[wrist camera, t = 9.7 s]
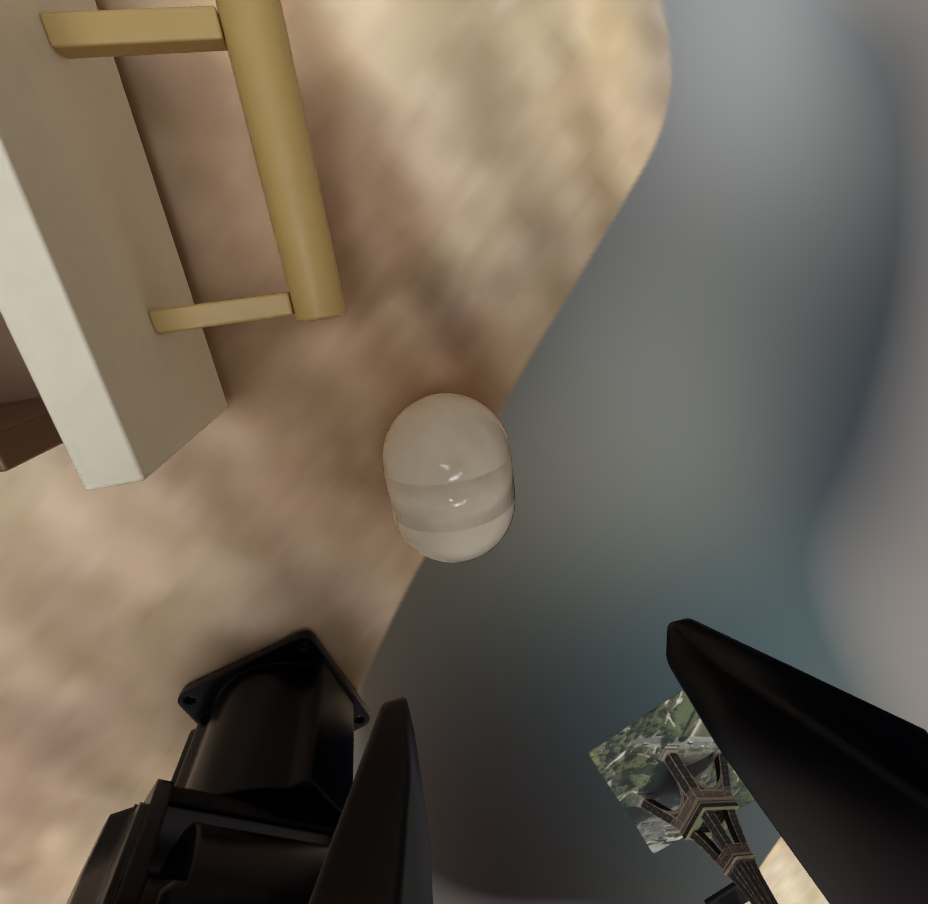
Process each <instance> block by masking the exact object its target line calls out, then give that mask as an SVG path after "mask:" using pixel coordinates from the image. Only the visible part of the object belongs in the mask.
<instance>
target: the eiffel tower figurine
mask: <svg viewBox="0 0 928 904" xmlns="http://www.w3.org/2000/svg"><path fill="white" fill-rule="evenodd" d="M588 754H589V755H590V757H591V759H592V760H593V762H594V763H595V765H596V767H597V768H598V770H599V771H600V773H601V775H602V776H603V778H604V779H605V781H606V782H607V784H608V785H609V787H610V788H611V790H612V791H613V793H614V794H615V795H616V797H617V798H618V800H619V801H620V803H621V804H622V806H623V807H622V808H624V809H625V810H626V812H627V813H628V815H629V816H630V817H631V819H632V821H633V822H634V824H635V825H636V827H637V828H638V830H639V832H640V833H641V835H642V837H643V838H644V840H645V841H646V843H647V845H648V846H649V848H650V849H651V851H652V853H656V852H657V851H659V850H661V849H663V848H665V847H666V846H668V845H670V844H672V843H674V842H675V841H677V840H679V839H681V838H683V837H684V839H685V840H693V841H694V842H696V843H697V844H698V845H699V846H700V847H701V848H702V849H703V850H704V851H705V852H706V853H707V854H708V855H709V856H710V857H711V858H712V859H713V860H714V861H716V863H717V864H718V865H719V866H720V867H722V869H723V870H724V874H725V876H726V877H727V876H728V877H730V878H731V879H732V880H733V881H734V883H735V884H736V885H737V886H738V887H739V888H740V890H741V891H742V892H743V893H744V895H745V896H746V897H747V899H748V900H749V901H750V903H751V904H778V903H777V901H776V899H775V898H774V896H773V894H772V892H771V891H770V889H769V887H768V885H767V883H766V882H765V880H764V878H763V876H762V874H761V872H760V870H759V868H758V866H757V864H756V862H755V859H756V856H755V855H753V854H752V853H751V852H750V849H749V847H748V844H747V842H746V839H745V836H744V834H743V831H742V829H741V826H740V824H739V821H738V817H737V814H736V811H737V810H738V809H740V808H742V807H744V806H745V805H747V804H749V803H751V802H753V801H755V799H754V798H753V796H752V795H751V793H750V792H749V791H748V789H747V788H746V786H745V785H744V784H743V782H742V781H741V779H740V778H739V777H738V775H737V774H736V772H735V771H734V770H733V768H732V767H731V766H730V764H729V763H728V761H727V760H726V758H725V757H724V756H723V754H722V753H721V751H720V750H719V748H718V747H717V745H716V744H715V742H714V740H713V739H712V737H711V736H710V734H709V732H708V731H707V729H706V727H705V726H704V724H703V722H702V721H701V719H700V717H699V716H698V714H697V712H696V710H695V709H694V707H693V705H692V704H691V702H690V700H689V699H688V697H687V695H686V694H685V692H684V690H682V691H680V692H679V693H677V694H676V695H674V696H673V697H672V698H670V699H668V700H667V701H665V702H664V703H662V704H661V705H659V706H658V707H656V708H655V709H653V710H652V711H650V712H649V713H647V714H646V715H644V716H643V717H641V718H640V719H638V720H637V721H635V722H634V723H632V724H631V725H629V726H628V727H627V728H625V729H624V730H622V731H621V732H619V733H618V734H616V735H615V736H613V737H612V738H610V739H609V740H607V741H606V742H604V743H603V744H602V745H600V746H598V747H596V748H595V749H593V750H592V751H590V752H589V753H588ZM727 827H728V830H729V832H730V834H731V836H732V838H733V840H734V842H735V843H732V841H731V840H730V838H729V837H728V835H727V833H726V831H725V830H726V828H727ZM711 838H714V840H715V841H716V843H717V844H718V845H719V847H720V848H721V849H722V852H721V851H720V849H719V848H718V847H717V846H716V845H715V844H714V843H713V842H712V841H711V840H710V839H711Z"/></svg>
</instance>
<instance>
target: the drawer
mask: <svg viewBox="0 0 928 904" xmlns="http://www.w3.org/2000/svg"><path fill="white" fill-rule="evenodd" d="M216 6H217V10H218V12H217V10H216V8H215V7H214V6H195V7H170V8H145V9H119V10H98V8H97V5H96V2H95V0H0V472H4V471H8V470H10V469H12V468H14V467H16V466H18V465H20V464H22V463H24V462H26V461H28V460H30V459H32V458H34V457H36V456H38V455H40V454H42V453H44V452H46V451H48V450H50V449H52V448H54V447H56V446H58V445H60V444H62V443H64V446H65V448H66V450H67V452H68V454H69V456H70V458H71V460H72V462H73V464H74V466H75V469H76V471H77V473H78V475H79V477H80V479H81V481H82V483H83V485H84V487H85V489H86V490H95V489H100V488H106V487H111V486H116V485H122V484H127V483H132V482H138V481H143V480H144V479H146V478H147V477H148V476H149V475H150V474H151V473H153V472H154V471H155V470H156V469H157V468H158V467H160V466H161V465H162V464H163V463H164V462H165V461H167V460H168V459H169V458H170V457H171V456H172V455H173V454H175V453H176V452H177V451H178V450H179V449H180V448H182V447H183V446H184V445H185V444H186V443H187V442H189V441H190V440H191V439H192V438H193V437H194V436H196V435H197V434H198V433H199V432H200V431H201V430H203V429H204V428H205V427H206V426H207V425H208V424H210V423H211V422H212V421H213V420H214V419H215V418H217V417H218V416H219V415H220V414H221V413H222V412H223V411H225V410H226V409H227V408H228V405H227V402H226V399H225V396H224V393H223V390H222V387H221V384H220V381H219V378H218V375H217V371H216V368H215V365H214V362H213V359H212V356H211V353H210V350H209V347H208V344H207V341H206V338H205V335H204V332H203V329H202V328H205V327H212V326H219V325H226V324H233V323H240V322H247V321H254V320H261V319H268V318H275V317H283V316H290V315H293V314H295V318H296V320H297V321H300V322H304V321H313V320H320V319H327V318H333V317H338V316H343V315H345V314H346V306H345V301H344V297H343V292H342V287H341V283H340V278H339V273H338V268H337V264H336V259H335V254H334V250H333V245H332V240H331V236H330V231H329V226H328V221H327V217H326V212H325V207H324V203H323V198H322V193H321V189H320V184H319V179H318V174H317V170H316V165H315V160H314V156H313V151H312V146H311V142H310V137H309V132H308V127H307V123H306V118H305V113H304V109H303V104H302V99H301V95H300V90H299V85H298V80H297V76H296V71H295V66H294V62H293V57H292V52H291V48H290V43H289V38H288V33H287V29H286V24H285V19H284V15H283V10H282V5H281V2H280V0H216ZM226 50H228V53H229V57H230V61H231V65H232V69H233V73H234V77H235V81H236V85H237V89H238V93H239V96H240V100H241V104H242V108H243V112H244V116H245V120H246V124H247V128H248V132H249V136H250V140H251V144H252V148H253V152H254V156H255V160H256V164H257V168H258V171H259V175H260V179H261V183H262V187H263V191H264V195H265V199H266V203H267V207H268V211H269V215H270V219H271V223H272V227H273V231H274V235H275V239H276V243H277V247H278V250H279V254H280V258H281V262H282V266H283V270H284V274H285V278H286V282H287V286H288V290H289V292H283V293H275V294H268V295H260V296H253V297H246V298H238V299H231V300H223V301H216V302H208V303H201V304H194V301H193V298H192V295H191V292H190V289H189V286H188V283H187V280H186V277H185V274H184V271H183V268H182V265H181V262H180V259H179V256H178V253H177V249H176V246H175V243H174V240H173V237H172V234H171V231H170V228H169V225H168V222H167V219H166V216H165V213H164V210H163V207H162V204H161V201H160V198H159V195H158V192H157V188H156V185H155V182H154V179H153V176H152V173H151V170H150V167H149V164H148V161H147V158H146V155H145V152H144V149H143V146H142V143H141V140H140V137H139V134H138V131H137V127H136V124H135V121H134V118H133V115H132V112H131V109H130V106H129V103H128V100H127V97H126V94H125V91H124V88H123V85H122V82H121V79H120V76H119V73H118V69H117V66H116V63H115V60H114V57H115V56H133V55H152V54H170V53H189V52H207V51H226Z"/></svg>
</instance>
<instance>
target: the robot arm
mask: <svg viewBox="0 0 928 904" xmlns="http://www.w3.org/2000/svg"><path fill="white" fill-rule="evenodd" d="M301 641H307V642H308V643H306V644H302V643H300V642H301ZM666 647H667V648H666V657H667V661H668V664H669V666H670V668H671V670H672V671H673V673H674V675H675V677H676V678H677V680H678V682H679V683H680V685H681V687H682V688H683V690H684V692H685V694H686V695H687V697H688V699H689V700H690V702H691V704H692V705H693V707H694V709H695V710H696V712H697V714H698V716H699V717H700V719H701V721H702V722H703V724H704V726H705V727H706V729H707V731H708V732H709V734H710V736H711V737H712V739H713V740H714V742H715V744H716V745H717V747H718V748H719V750H720V751H721V753H722V754H723V756H724V757H725V758H726V760H727V761H728V763H729V764H730V766H731V767H732V768H733V770H734V771H735V772H736V774H737V775H738V777H739V778H740V779H741V781H742V782H743V784H744V785H745V786H746V788H747V789H748V791H749V792H750V793H751V795H752V796H753V798H754V799H755V800H756V802H757V803H758V805H759V806H760V807H761V809H762V810H763V811H764V813H765V814H766V816H767V817H768V818H769V820H770V821H771V822H772V824H773V825H774V827H775V828H776V830H777V831H778V832H779V834H780V835H781V837H782V838H783V839H784V841H785V842H786V844H787V845H788V846H789V848H790V849H791V851H792V852H793V853H794V855H795V856H796V857H797V859H798V860H799V862H800V863H801V864H802V866H803V867H804V869H805V870H806V871H807V873H808V874H809V876H810V877H811V878H812V880H813V881H814V883H815V884H816V885H817V887H818V888H819V890H820V891H821V892H822V894H823V895H824V896H825V898H826V899H827V901H828V902H829V903H830V904H928V733H927V732H926V730H924V729H922V728H920V727H918V726H916V725H914V724H912V723H910V722H908V721H906V720H904V719H901V718H899V717H897V716H895V715H893V714H891V713H889V712H887V711H884V710H882V709H880V708H878V707H876V706H874V705H872V704H870V703H868V702H866V701H863V700H861V699H859V698H857V697H855V696H853V695H851V694H849V693H847V692H845V691H842V690H840V689H838V688H836V687H834V686H832V685H830V684H827V683H826V682H823V681H821V680H819V679H817V678H815V677H813V676H811V675H809V674H807V673H804V672H802V671H800V670H798V669H796V668H794V667H792V666H790V665H788V664H786V663H783V662H781V661H779V660H777V659H775V658H773V657H771V656H769V655H767V654H765V653H762V652H760V651H758V650H756V649H754V648H752V647H750V646H748V645H745V644H743V643H741V642H739V641H737V640H735V639H733V638H731V637H729V636H727V635H725V634H722V633H720V632H718V631H716V630H714V629H712V628H710V627H708V626H705V625H703V624H701V623H699V622H697V621H695V620H693V619H689V618H686V619H682V620H678V621H674V622H671V623H670V624H669V625H668V628H667V646H666ZM189 696H193V697H194V698H193V697H189ZM178 704H179V705H180V706H181V707H182V708H183V709H184V710H185V711H186V712H187V713H188V714H189V716H190V717H191V718H192V719H193V720H194V721H195V722H196V723H197V724H198V725H197V727H196V728H195V729H193V730H192V731H191V732H190V734H189V737H188V739H187V742H186V744H185V747H184V749H183V752H182V755H181V757H180V760H179V762H178V765H177V767H176V770H175V772H174V775H173V778H172V780H171V781H166V780H161V779H158V780H157V781H156V783H155V785H154V786H153V788H152V790H151V791H150V793H149V794H148V796H147V798H146V799H145V801H144V803H143V802H140V804H139V805H137V804H135V805H134V807H132V808H129V809H126V810H123V811H120V812H117V813H114V814H111V815H110V816H109V818H108V819H107V821H106V823H105V824H104V826H103V828H102V830H101V832H100V834H99V836H98V838H97V840H96V842H95V844H94V846H93V848H92V851H91V853H90V855H89V857H88V859H87V861H86V863H85V865H84V867H83V869H82V871H81V873H80V875H79V877H78V880H77V882H76V884H75V886H74V888H73V890H72V893H71V895H70V897H69V899H68V901H67V904H433V899H432V898H433V897H432V874H431V853H430V840H429V831H428V822H427V816H426V808H425V802H424V795H423V788H422V781H421V774H420V767H419V760H418V753H417V746H416V740H415V734H414V729H413V725H412V720H411V717H410V712H409V708H408V703H407V700H406V698H404V697H399V698H395V699H392V700H388V701H385V702H384V703H383V704H382V706H381V708H380V710H379V713H378V716H377V718H376V721H375V724H374V726H373V729H372V732H371V735H370V737H369V740H368V743H367V745H366V748H365V751H364V754H363V756H362V759H361V762H360V764H359V767H358V770H357V773H356V775H355V778H354V781H353V750H354V731H355V730H357V729H359V728H361V727H363V726H365V725H366V724H367V723H368V722H369V719H370V711H369V708H368V707H367V706H366V704H365V703H364V702H363V700H362V699H361V698H360V696H359V695H358V693H357V692H356V691H355V689H354V688H353V687H352V685H351V684H350V682H349V681H348V680H347V678H346V677H345V676H344V674H343V673H342V671H341V670H340V669H339V667H338V666H337V665H336V663H335V662H334V661H333V659H332V658H331V656H330V655H329V654H328V652H327V651H326V650H325V648H324V647H323V645H322V644H321V643H320V641H319V640H318V639H317V637H316V636H315V634H313V633H312V632H310V631H300V632H298V633H296V634H294V635H291V636H289V637H287V638H285V639H283V640H281V641H279V642H277V643H275V644H273V645H271V646H269V647H267V648H265V649H262V650H260V651H258V652H256V653H254V654H252V655H250V656H248V657H246V658H244V659H242V660H240V661H238V662H236V663H233V664H231V665H229V666H227V667H225V668H223V669H221V670H219V671H217V672H215V673H213V674H211V675H209V676H207V677H204V678H202V679H200V680H198V681H196V682H194V683H192V684H190V685H188V686H186V687H185V688H183V690H182V691H181V693H180V696H179V698H178ZM358 716H361V717H358Z"/></svg>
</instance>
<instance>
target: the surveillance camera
mask: <svg viewBox="0 0 928 904" xmlns="http://www.w3.org/2000/svg"><path fill="white" fill-rule="evenodd" d="M704 901H705V903H706V904H745V903H746V902H748V901H749V900H748V899H747V897H746V896H745V895H744V893H743V892H742V891H741V890H740V888H739V887H738V886H737V885H736V884H735V883H734V882H732V883H731V884H729V885H728V886H726V887H725V888H723V889H721V890H720V891H718V892H717V893H715V894H713V895H712V896H710V897H709V898H707V899H706V900H704Z"/></svg>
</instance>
